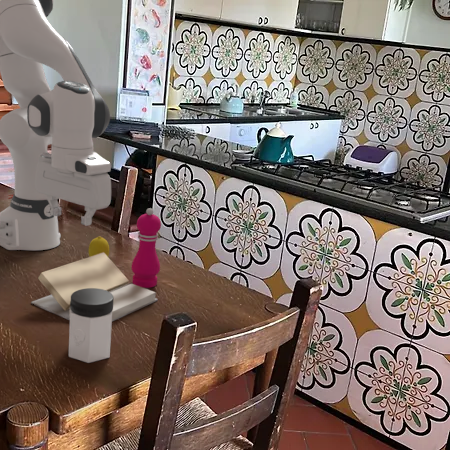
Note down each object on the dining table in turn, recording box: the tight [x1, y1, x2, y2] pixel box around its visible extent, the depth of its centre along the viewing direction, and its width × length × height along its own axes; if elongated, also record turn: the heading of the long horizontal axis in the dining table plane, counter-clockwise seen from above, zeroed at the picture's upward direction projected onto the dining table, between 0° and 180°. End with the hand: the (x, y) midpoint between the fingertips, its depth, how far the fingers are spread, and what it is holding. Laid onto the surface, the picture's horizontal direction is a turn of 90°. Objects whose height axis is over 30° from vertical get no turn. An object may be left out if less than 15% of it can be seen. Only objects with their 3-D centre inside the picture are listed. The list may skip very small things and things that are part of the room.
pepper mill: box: [130, 207, 162, 289], centre depth 156 cm, size 7×7×20 cm
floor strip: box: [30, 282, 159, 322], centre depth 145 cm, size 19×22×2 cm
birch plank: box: [37, 252, 130, 310], centre depth 146 cm, size 10×20×2 cm, turn 149°
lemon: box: [88, 235, 110, 258], centre depth 167 cm, size 6×6×8 cm
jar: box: [68, 288, 114, 364], centre depth 121 cm, size 9×8×12 cm
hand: (71, 219), depth 139 cm, fingers open, 8 cm apart
